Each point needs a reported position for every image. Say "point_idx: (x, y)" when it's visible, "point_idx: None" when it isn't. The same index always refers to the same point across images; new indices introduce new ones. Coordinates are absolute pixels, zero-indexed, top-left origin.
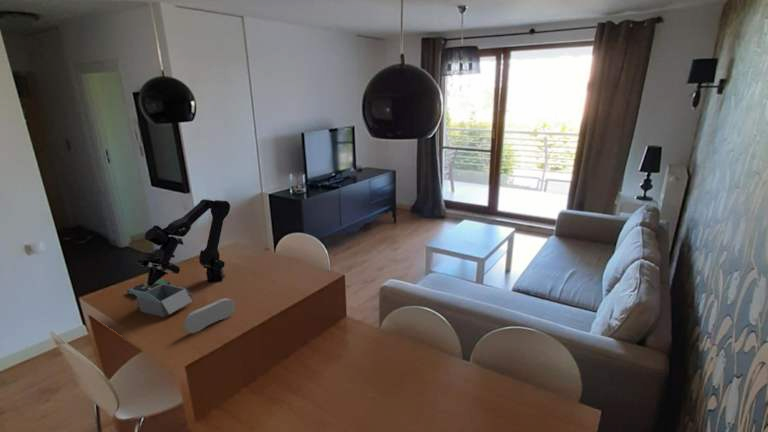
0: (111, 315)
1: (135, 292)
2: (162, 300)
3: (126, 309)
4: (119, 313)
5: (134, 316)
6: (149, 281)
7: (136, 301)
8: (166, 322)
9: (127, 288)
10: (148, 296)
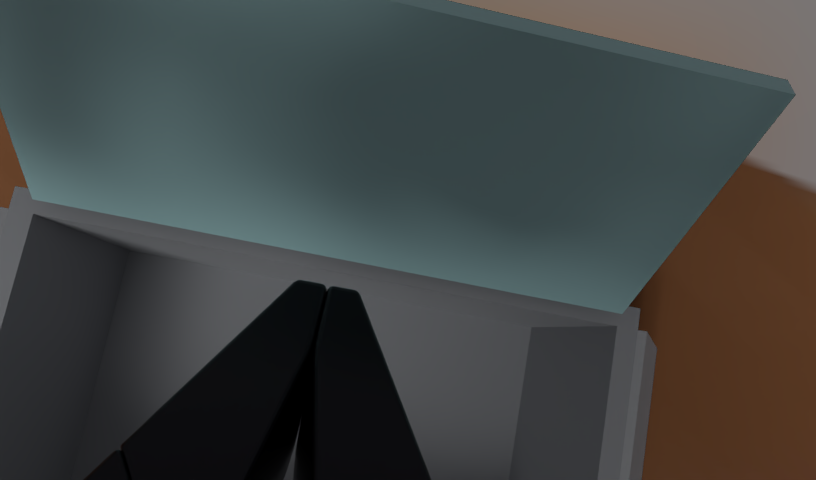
0: (801, 189)
1: (539, 117)
2: (11, 246)
3: (755, 330)
4: (753, 239)
5: None
6: (281, 342)
7: (653, 342)
8: (5, 144)
9: (780, 84)
10: (161, 88)
